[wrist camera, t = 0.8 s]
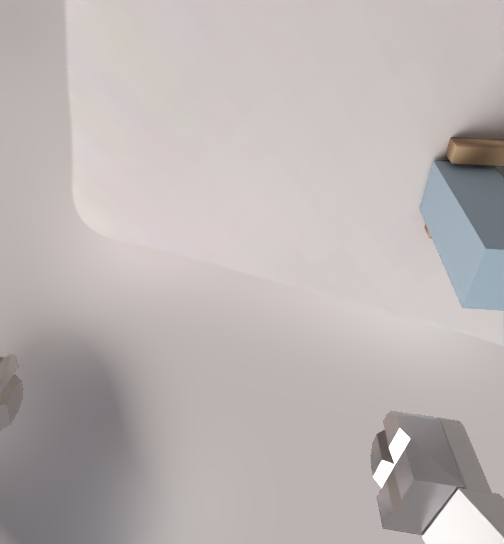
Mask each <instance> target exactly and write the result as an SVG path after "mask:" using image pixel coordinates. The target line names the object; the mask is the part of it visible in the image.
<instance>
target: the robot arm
mask: <svg viewBox="0 0 504 544" xmlns="http://www.w3.org/2000/svg"><path fill="white" fill-rule="evenodd" d="M18 367H19V364H18V361H17V357H16V355H13V354H9V353H3V352H0V431H1V430H2V429H4V428H6V427H7V426H9V425H10V424H11V423H12V421H13V420H14V418H15V417H16V415H17V413H18V411H19V408H20V405H21V402H22V399H23V384H22V380H21V379H19V378H18V377H17V376H16V375H15V374H14V373H15V372H16V370H17V368H18ZM383 423H384V428H385V430H383V431H381V432H380V433H378V434H377V435H376V437H375V439H374V441H373V443H372V450H371V469H372V474H373V478H374V479H375V480H376V481H377V483H378V484H379V485H380V486H381V488H382V489H381V490H380V492H379V494H378V496H377V501H378V507H379V511H380V517H381V522H382V527H383V529H388V530H394V531H400V532H407V533H412V534H418V535H423V536H422V538H423V540H424V541H425V543H426V544H504V499H503V497H502V496H500V494H496V493H492V492H491V489H490V487H489V485H488V483H487V480H486V477H485V475H484V473H483V470H482V468H481V466H480V463H479V461H478V459H477V456H476V454H475V451H474V449H473V447H472V444H471V442H470V440H469V437H468V435H467V433H466V430H465V428H464V426H463V424H462V423H461V422H460V421H455V420H449V419H442V418H434V417H431V416H423V415H417V414H410V413H402V412H395V411H391V412H389V413H388V414H387V415H386V417H385V419H384V421H383Z"/></svg>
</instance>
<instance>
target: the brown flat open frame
mask: <svg viewBox="0 0 504 544" xmlns="http://www.w3.org/2000/svg"><path fill="white" fill-rule="evenodd" d="M446 156H447V157H448V159H449V160H450V162H451V163H452V164H471V165H493V166H504V140H490V139H466V138H450V141H449V145H448V148H447V152H446ZM425 229H426V232H427V234H428V236H429V238H432V237H431V235H430V233H429V230H428V228H427V226H426V224H425Z"/></svg>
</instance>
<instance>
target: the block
mask: <svg viewBox="0 0 504 544" xmlns="http://www.w3.org/2000/svg"><path fill="white" fill-rule="evenodd" d="M420 212H421V214H422V217H423V219H424V221H425V224H426V226H427V228H428V230H429V233H430V235H431V237H432V240H433V242H434V244H435V246H436V249H437V251H438V253H439V256H440V258H441V260H442V262H443V265H444V267H445V269H446V272H447V274H448V276H449V279H450V281H451V283H452V285H453V288H454V290H455V292H456V295H457V297H458V299H459V301H460V304H461V306H462V308H472V309H487V310H502V311H504V177H503V176H502V175H501V174H500V173H499V171H498V170H497V169H496V168H495V167H494V166H493V165H471V164H452V163H451V162H450V161H433V164H432V168H431V171H430V175H429V179H428V182H427V186H426V190H425V193H424V197H423V201H422V204H421V208H420Z"/></svg>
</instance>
